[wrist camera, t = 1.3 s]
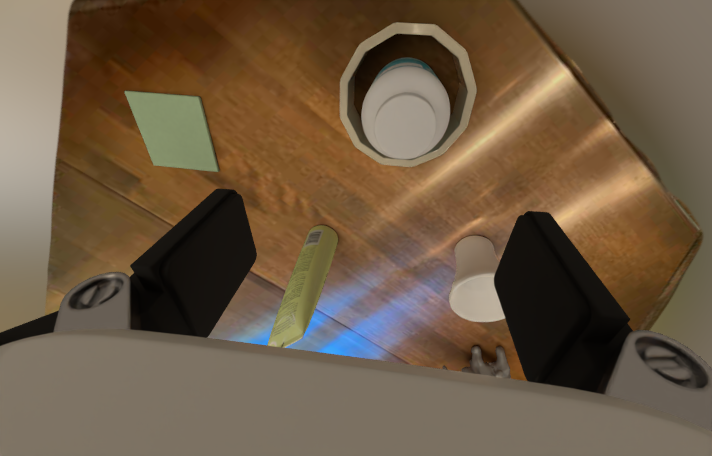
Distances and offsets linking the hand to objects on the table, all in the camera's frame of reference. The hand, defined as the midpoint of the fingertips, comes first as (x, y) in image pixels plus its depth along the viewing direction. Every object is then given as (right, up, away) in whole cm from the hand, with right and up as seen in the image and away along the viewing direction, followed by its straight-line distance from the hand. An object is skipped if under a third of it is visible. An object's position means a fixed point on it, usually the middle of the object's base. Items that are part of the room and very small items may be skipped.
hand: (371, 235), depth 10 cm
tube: (-6, -1, +36) cm, 37 cm away
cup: (+17, -3, +34) cm, 38 cm away
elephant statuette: (+24, -26, +49) cm, 60 cm away
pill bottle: (+5, +16, +22) cm, 28 cm away
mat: (-25, +13, +29) cm, 40 cm away
